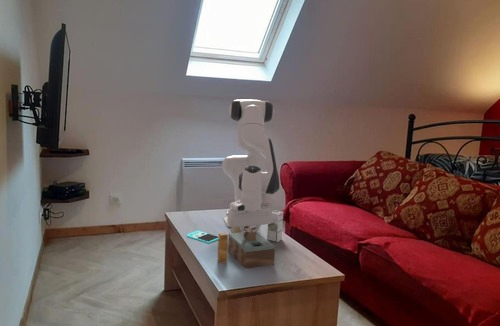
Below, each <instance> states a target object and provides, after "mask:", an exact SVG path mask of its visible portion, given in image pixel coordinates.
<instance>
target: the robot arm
mask: <svg viewBox="0 0 500 326" xmlns="http://www.w3.org/2000/svg"><path fill="white" fill-rule="evenodd" d="M274 109H275V108H274V105H273V103H272V102H270V101H267V100H259V99H234V100H232V101H231V103H230V104H229V109H228V111H229V116H230V119H232V120H234V121H235V122H238V127H237V128H238V131H237V145H238V147H239V148H240V149H242V150H243V151H245V152H247V154H246V155H244V154H242V155H237V154H235V155H229V156H225V157H224V159H223V160H222V162H221V168H222V171H223V172H224V174H225V175H227V176H228V177H229V179H230V180H231V181H232V183H233V187H234V188H233V189H234V199H233V201H232V202H230V203H229V209H228V211H227V212H226V216H225V217H223V222H224V223H225V224H226V226H227V228H233V227H240V229H241V231H242V236H246V232H245V231H244V230H243V229H244V226H249V228H251V229H252V230H253V231H255V232H256V235H257V234H258V233H259V232H258V231H259V230H260V228H261V225H262V226H263V225H268V224H271V223H272V210H273V205H272V204H271V203H270V202H267V203H265V202H264V203H262V195H261V194H267V195H274V194H276V193H277V192H278V191H279V190H280V187H281V179H280V176H279V173H278V172H279V171H278V167H277V160H276V157H275V156H276V155H275V150H274V145H273V142H272V139H271V138H269V137H268V136H267V134H266V132H265V123H268V122H270V121H272V119H273V117H274V114H275V110H274Z"/></svg>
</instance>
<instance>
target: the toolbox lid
mask: <svg viewBox="0 0 500 326" xmlns="http://www.w3.org/2000/svg"><path fill="white" fill-rule="evenodd" d="M253 230H254V229H253V228H244V231H245V232H246V236H242V232H241V233H232V232H231V233H228V238H229V237H230V238H231V239H232V240H233V241H235V242H236V243H237V244H238V245H239V246H240V247H241V248H242V249H243V250H244V251H246V252H251V251H259V250H268V249H275V250H276V245H275V244H273V243H272V241H270V240H267V238H266V237H264V236H262V235H261V234H260V233H259V232H258V234H257V235H256V232H255V231H253ZM253 245H260V246H255V247H254V246H253Z"/></svg>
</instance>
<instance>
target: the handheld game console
mask: <svg viewBox="0 0 500 326" xmlns="http://www.w3.org/2000/svg"><path fill="white" fill-rule="evenodd" d="M186 237H187V238H189V239H192V240H196V241H199V242H201V243H202V242H203V243H204V244H211V243H214V242H215V241H216V242H217V241H218V235H215V234H211V233H207V232H204V231H201V230H195V231H193V232H190V233H188V234H187V235H186Z"/></svg>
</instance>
